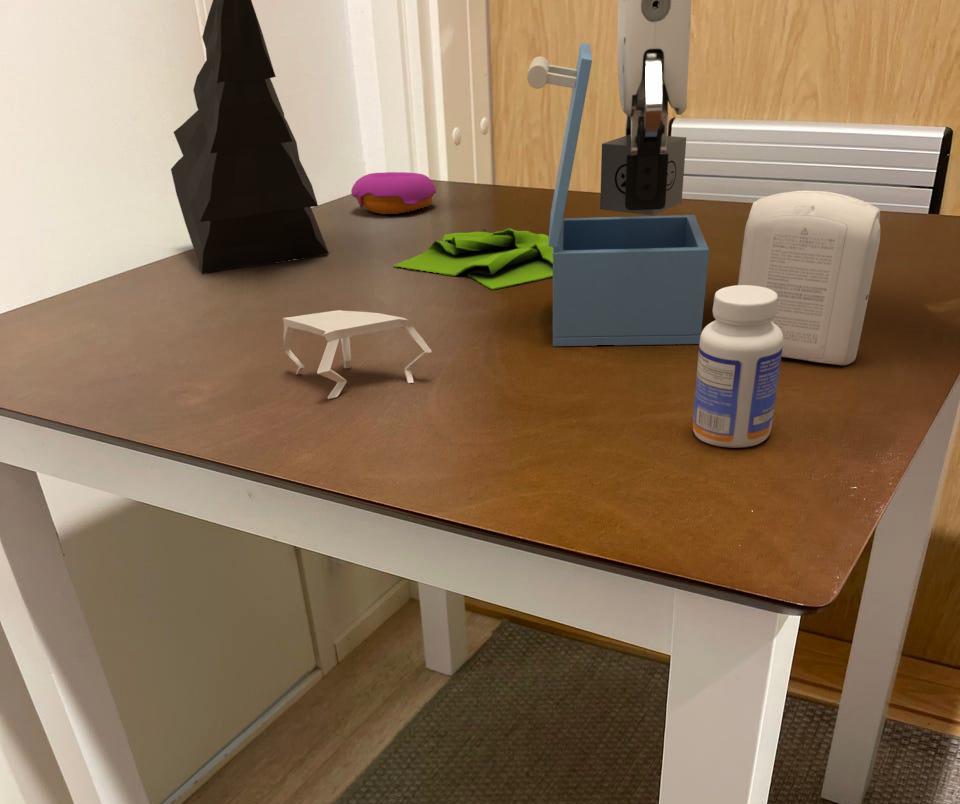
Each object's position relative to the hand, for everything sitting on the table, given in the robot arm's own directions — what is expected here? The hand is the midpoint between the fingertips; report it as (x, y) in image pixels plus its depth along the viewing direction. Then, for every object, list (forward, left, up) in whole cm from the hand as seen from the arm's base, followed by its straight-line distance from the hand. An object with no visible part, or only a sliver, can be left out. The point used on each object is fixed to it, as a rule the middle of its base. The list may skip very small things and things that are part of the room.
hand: (642, 196), depth 81 cm
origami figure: (+23, +13, -11) cm, 29 cm away
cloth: (+14, -22, -11) cm, 28 cm away
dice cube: (0, 0, -1) cm, 1 cm away
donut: (+29, -47, -11) cm, 56 cm away
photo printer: (-12, +8, -11) cm, 18 cm away
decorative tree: (+40, -22, -11) cm, 47 cm away
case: (+1, 0, -11) cm, 11 cm away
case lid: (+6, 0, +4) cm, 7 cm away
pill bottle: (-5, +24, -11) cm, 27 cm away
